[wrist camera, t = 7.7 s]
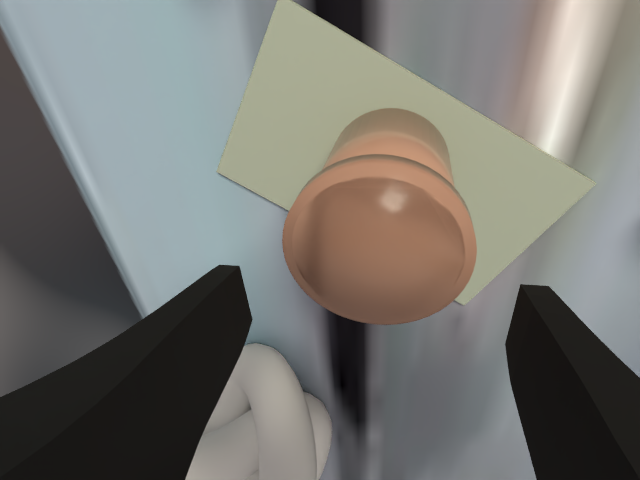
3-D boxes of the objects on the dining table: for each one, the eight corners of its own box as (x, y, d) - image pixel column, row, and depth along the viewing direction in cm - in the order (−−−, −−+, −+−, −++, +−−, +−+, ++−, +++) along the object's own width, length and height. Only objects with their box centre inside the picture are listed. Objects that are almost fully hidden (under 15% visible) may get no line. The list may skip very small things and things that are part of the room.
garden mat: (594, 181, 16) (596, 183, 15) (463, 303, 20) (464, 305, 20) (281, -6, 14) (279, -6, 14) (218, 170, 19) (216, 171, 19)
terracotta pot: (479, 119, 15) (513, 197, 10) (430, 236, 18) (435, 343, 13) (338, 85, 15) (295, 142, 10) (314, 206, 19) (273, 297, 13)
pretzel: (384, 429, 28) (372, 589, 21) (252, 444, 33) (205, 577, 26) (305, 317, 23) (254, 473, 16) (166, 355, 28) (79, 486, 21)
